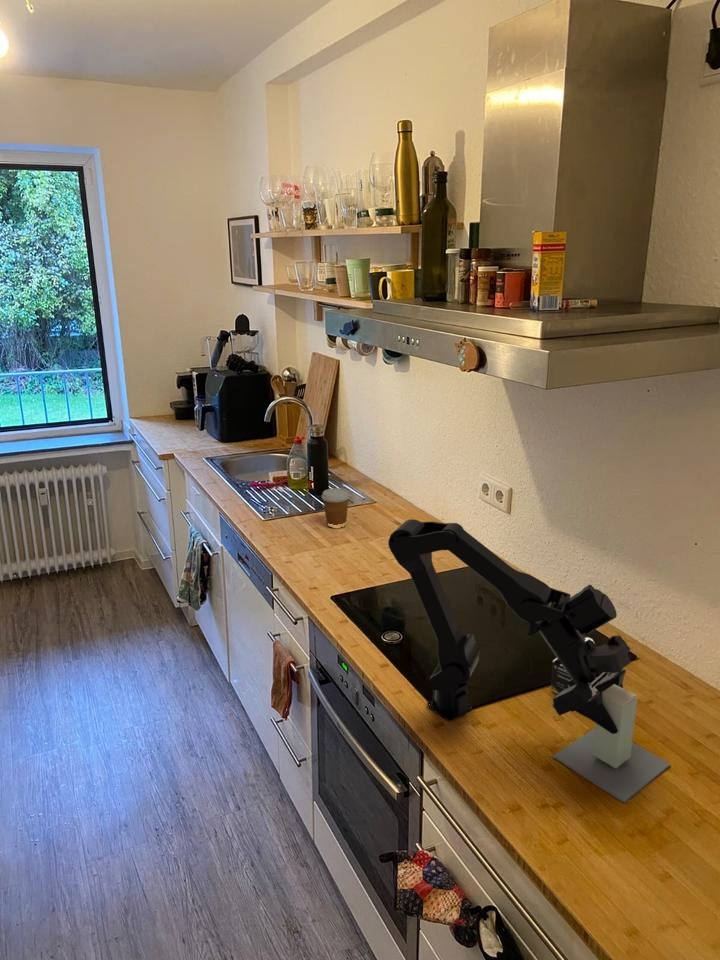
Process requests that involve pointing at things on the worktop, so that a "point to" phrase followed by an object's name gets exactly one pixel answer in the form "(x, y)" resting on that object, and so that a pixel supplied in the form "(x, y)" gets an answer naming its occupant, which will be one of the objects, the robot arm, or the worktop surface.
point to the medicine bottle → (563, 675)
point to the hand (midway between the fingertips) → (622, 725)
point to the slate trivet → (608, 778)
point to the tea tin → (623, 715)
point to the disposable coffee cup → (336, 505)
